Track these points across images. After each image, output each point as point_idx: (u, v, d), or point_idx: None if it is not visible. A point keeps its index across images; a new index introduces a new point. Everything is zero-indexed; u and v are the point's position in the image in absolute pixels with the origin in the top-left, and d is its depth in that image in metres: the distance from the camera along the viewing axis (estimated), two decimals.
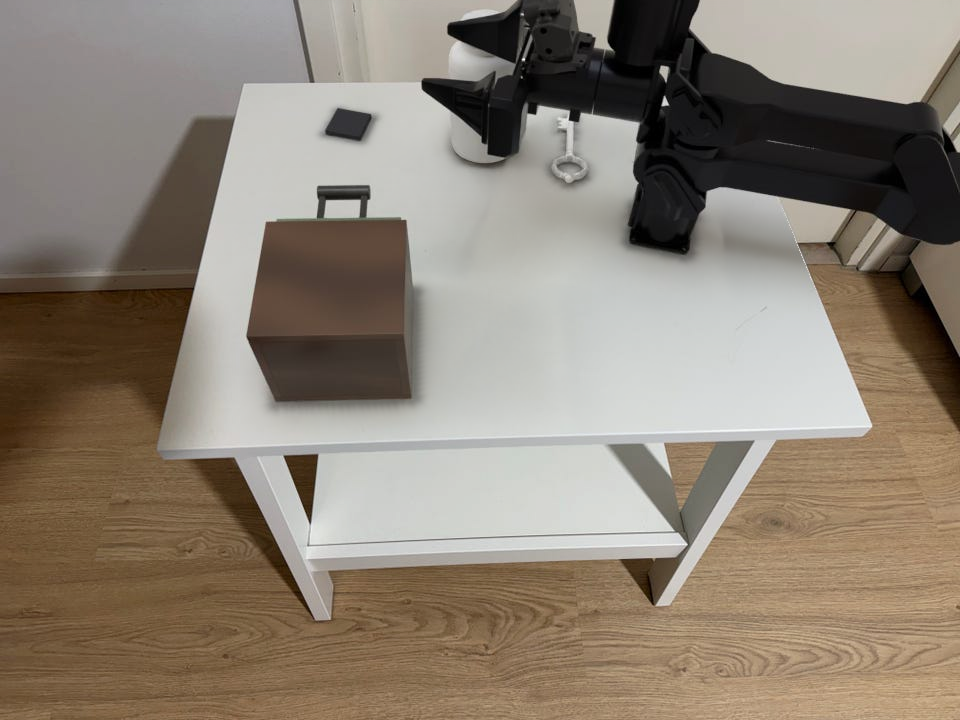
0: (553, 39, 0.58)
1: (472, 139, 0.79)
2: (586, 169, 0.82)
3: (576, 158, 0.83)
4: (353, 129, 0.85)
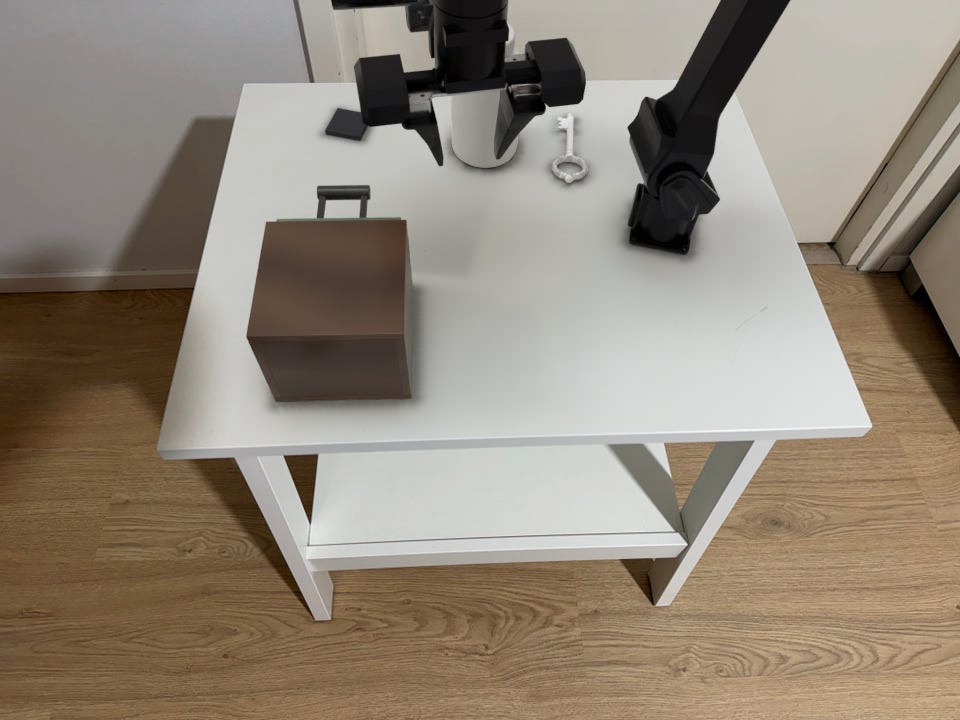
0: (406, 8, 0.59)
1: (473, 145, 0.80)
2: (586, 169, 0.82)
3: (576, 158, 0.82)
4: (353, 129, 0.85)
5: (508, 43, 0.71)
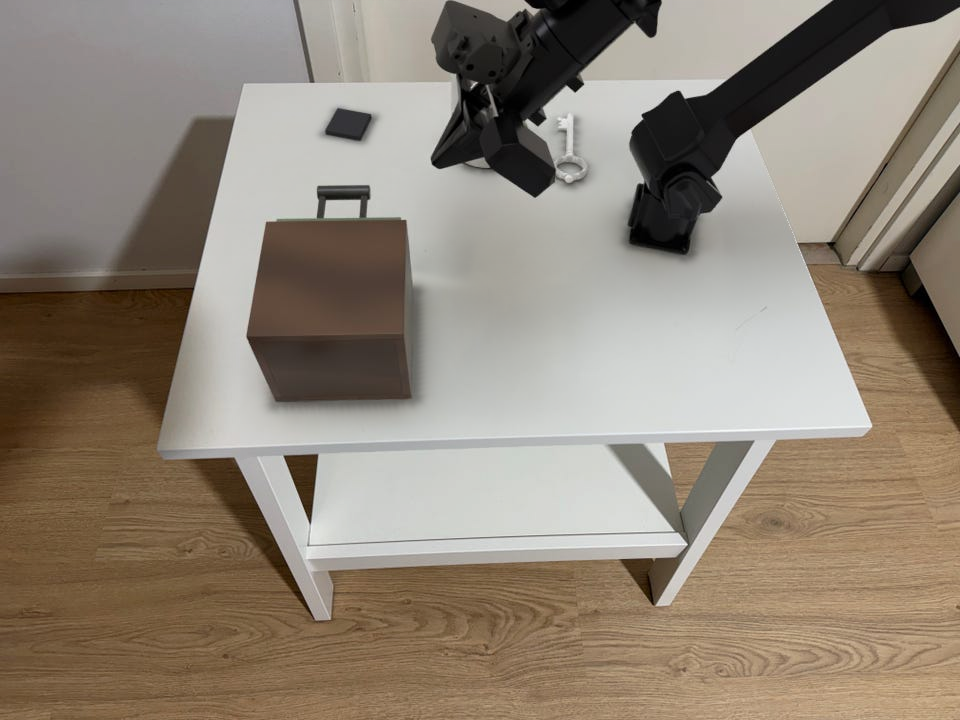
0: (484, 63, 0.51)
1: None
2: (586, 169, 0.82)
3: (576, 158, 0.83)
4: (353, 129, 0.85)
5: None
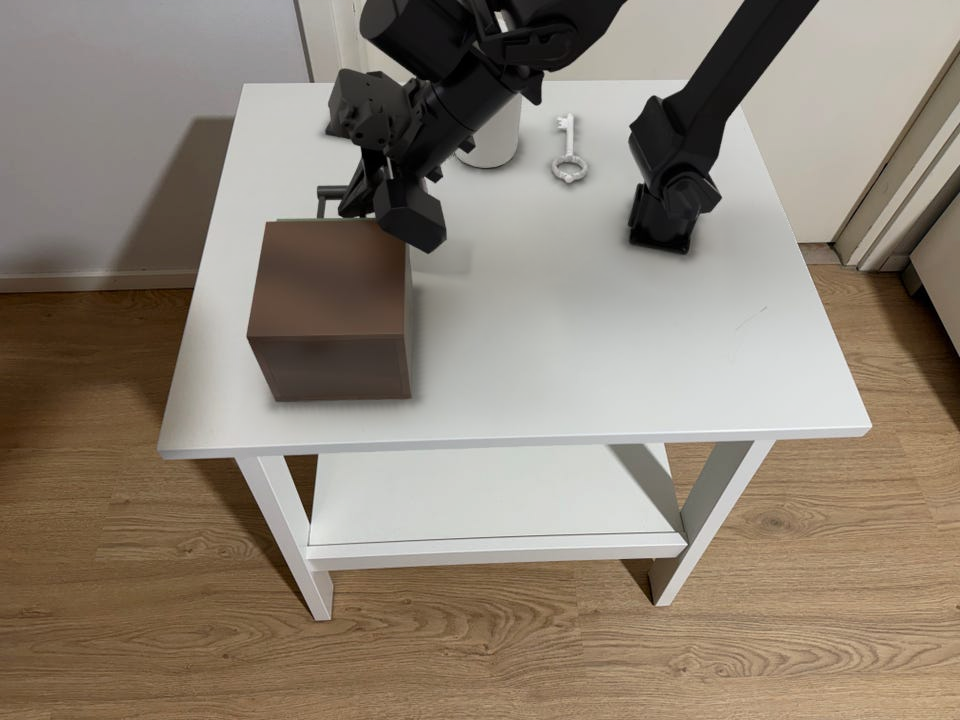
0: (372, 131, 0.54)
1: None
2: (586, 169, 0.82)
3: (576, 158, 0.82)
4: None
5: None
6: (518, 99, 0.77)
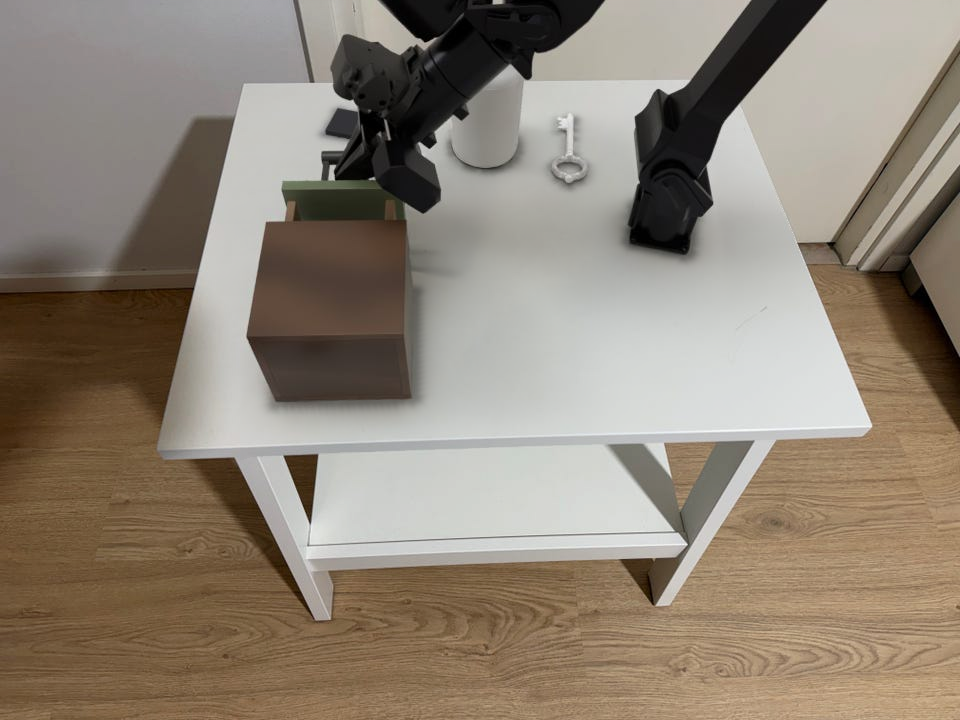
0: (374, 93, 0.57)
1: (473, 145, 0.80)
2: (586, 169, 0.82)
3: (576, 158, 0.82)
4: (353, 129, 0.85)
5: None
6: (518, 99, 0.77)
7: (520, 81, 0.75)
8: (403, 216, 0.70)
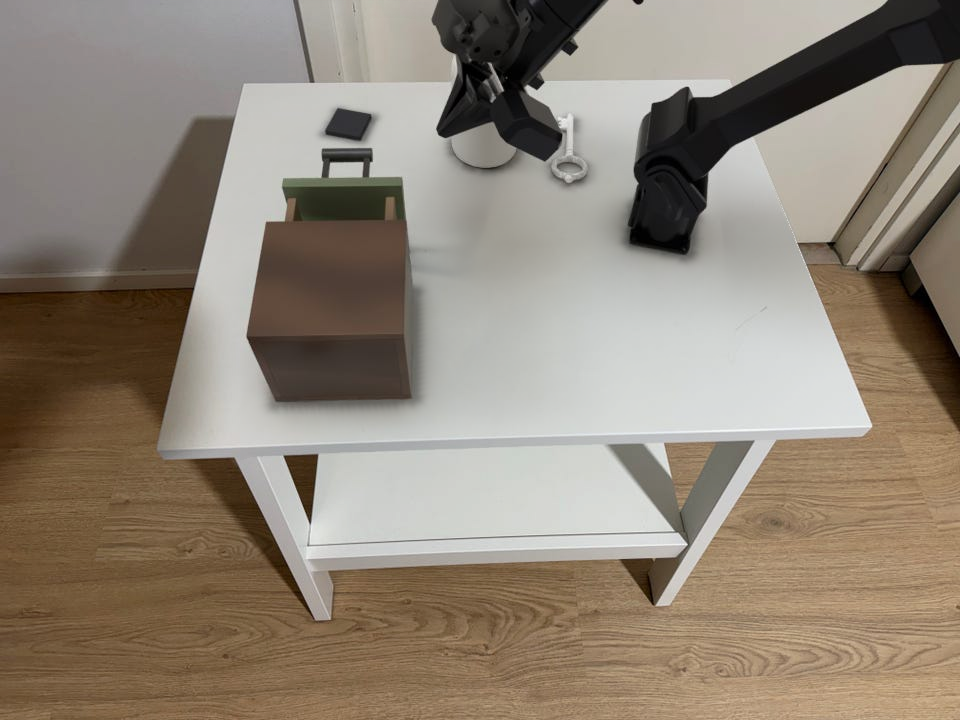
0: (490, 44, 0.55)
1: (473, 145, 0.80)
2: (586, 169, 0.82)
3: (576, 158, 0.82)
4: (353, 129, 0.85)
5: None
6: None
7: None
8: (403, 213, 0.70)
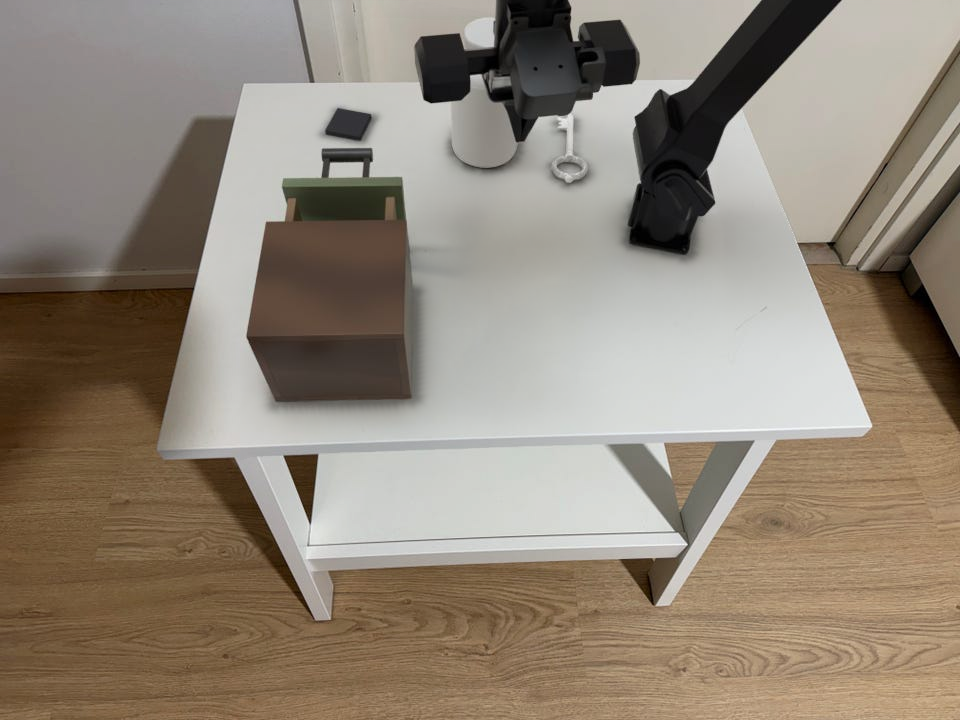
0: None
1: (473, 145, 0.80)
2: (586, 169, 0.82)
3: (576, 158, 0.82)
4: (353, 129, 0.85)
5: None
6: None
7: None
8: (403, 213, 0.70)
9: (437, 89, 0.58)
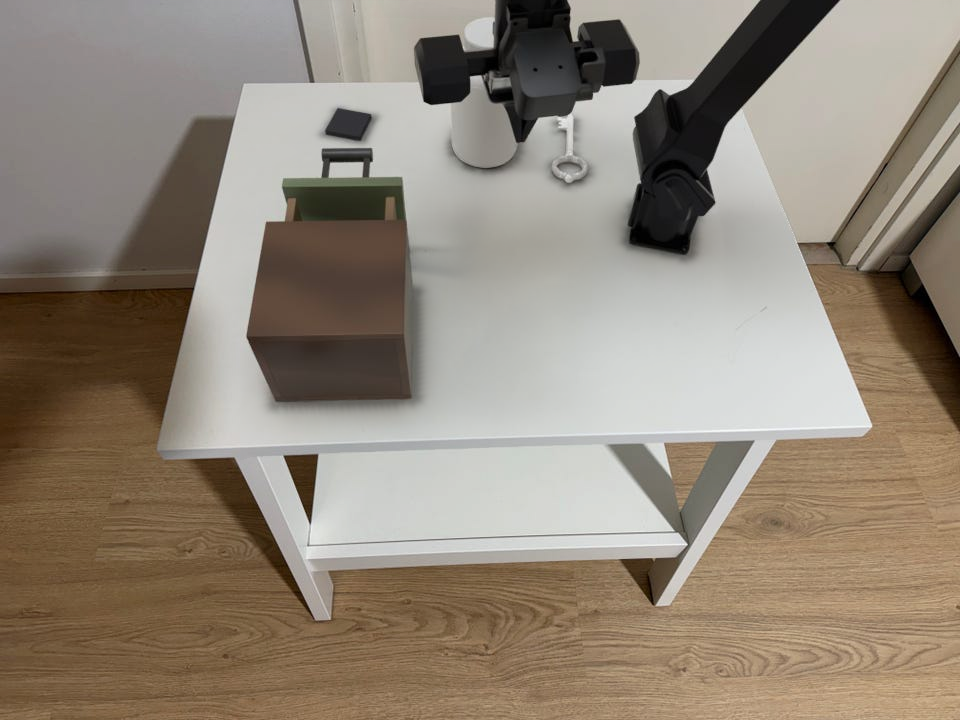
0: None
1: (473, 145, 0.80)
2: (586, 169, 0.82)
3: (576, 158, 0.82)
4: (353, 129, 0.85)
5: None
6: None
7: None
8: (403, 213, 0.70)
9: (437, 91, 0.58)
